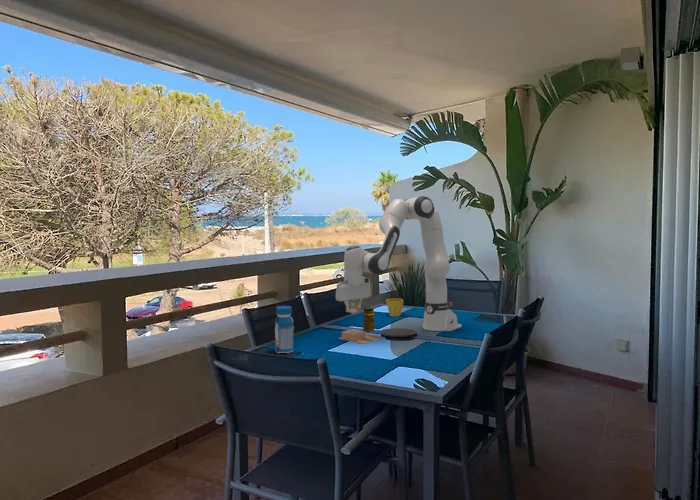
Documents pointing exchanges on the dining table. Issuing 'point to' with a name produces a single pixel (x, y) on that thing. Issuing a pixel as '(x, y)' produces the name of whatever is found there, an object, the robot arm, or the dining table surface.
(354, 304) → the maple cube
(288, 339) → the beverage bottle
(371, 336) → the cork placemat
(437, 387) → the dining table surface
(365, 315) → the condiment
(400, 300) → the plant pot
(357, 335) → the terracotta block
